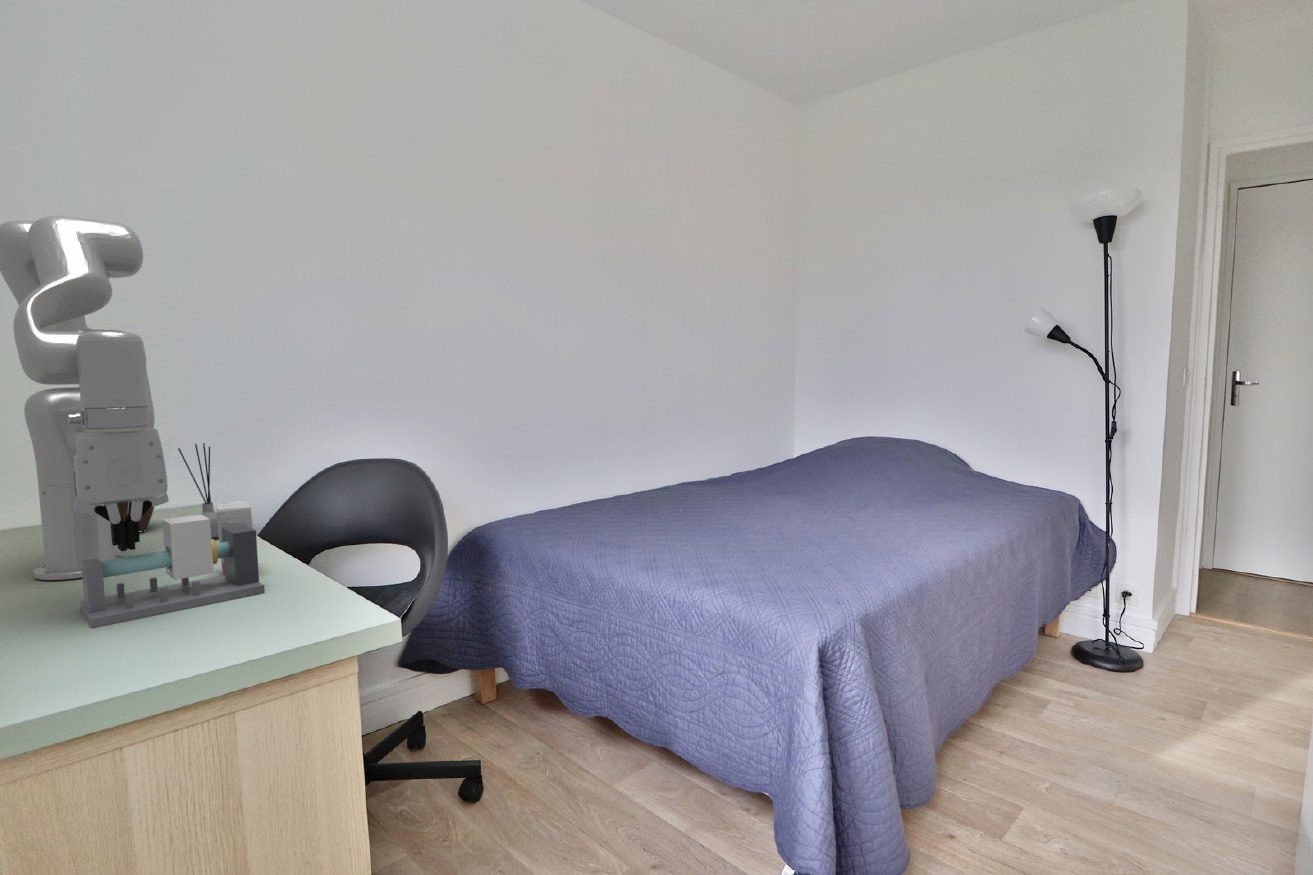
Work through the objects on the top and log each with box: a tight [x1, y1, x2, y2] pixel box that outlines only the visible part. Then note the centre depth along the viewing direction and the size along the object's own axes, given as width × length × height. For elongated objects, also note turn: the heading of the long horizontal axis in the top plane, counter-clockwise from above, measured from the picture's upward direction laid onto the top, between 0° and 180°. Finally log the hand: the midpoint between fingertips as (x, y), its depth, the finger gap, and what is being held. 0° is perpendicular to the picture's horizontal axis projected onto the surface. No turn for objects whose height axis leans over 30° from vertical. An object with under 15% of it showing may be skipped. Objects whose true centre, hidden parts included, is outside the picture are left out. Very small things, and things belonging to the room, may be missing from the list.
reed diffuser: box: [177, 442, 219, 538], centre depth 146 cm, size 10×7×20 cm
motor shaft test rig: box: [79, 525, 265, 628], centre depth 105 cm, size 21×11×9 cm, turn 135°
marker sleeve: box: [161, 514, 215, 581], centre depth 107 cm, size 5×5×8 cm
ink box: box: [215, 500, 254, 575], centre depth 120 cm, size 9×5×12 cm, turn 33°
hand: (126, 548), depth 101 cm, fingers closed
